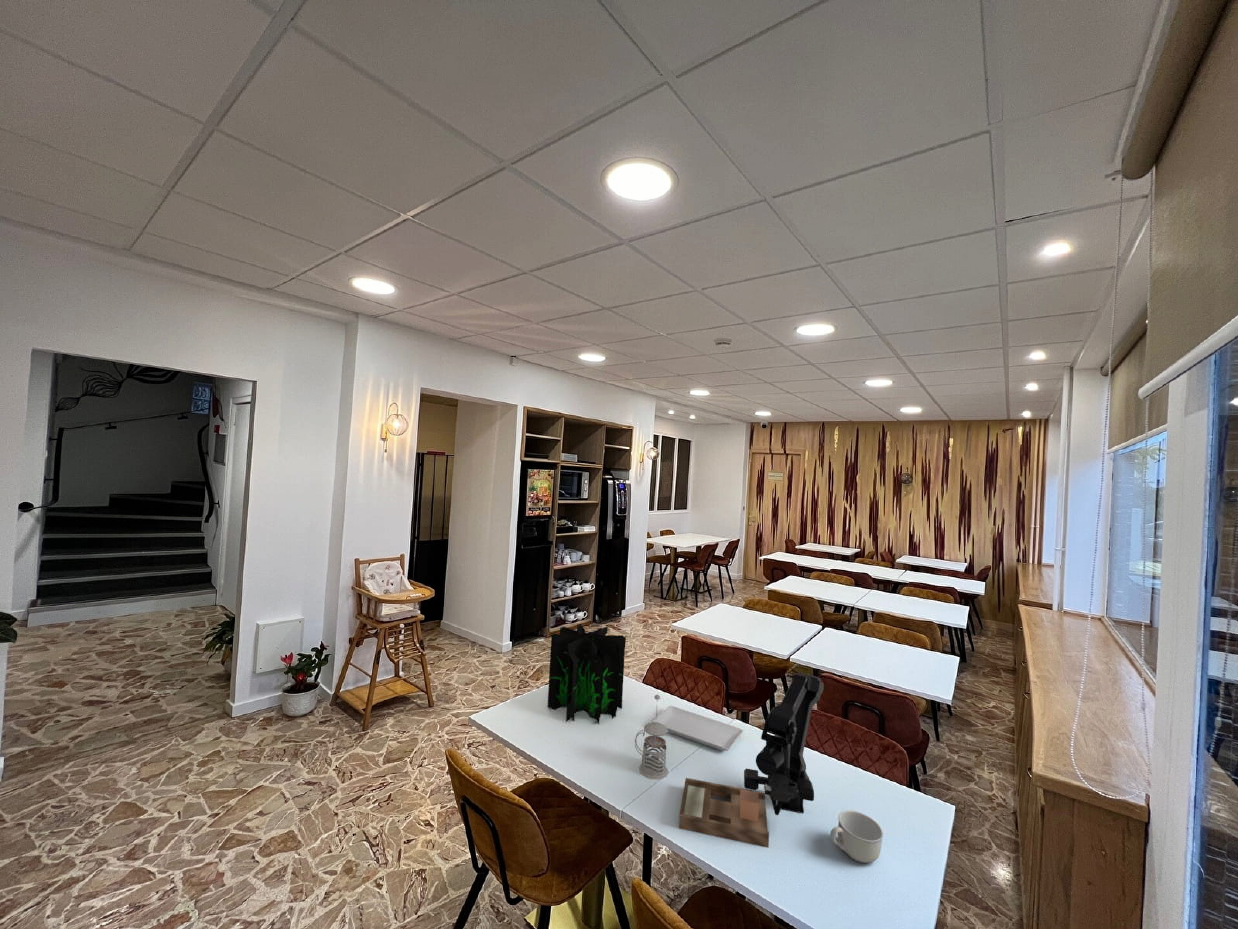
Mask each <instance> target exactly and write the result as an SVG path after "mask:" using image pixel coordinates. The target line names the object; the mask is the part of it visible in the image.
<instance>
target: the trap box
mask: <svg viewBox="0 0 1238 929" xmlns="http://www.w3.org/2000/svg"><path fill="white" fill-rule="evenodd" d="M684 781H685V782H684V787H683V792H682V798H681V805H680V809H679V810H680V811H679V822H678V829H681V830H685V831H690V832H695V833H698V832H699V833H700V834H703V835H708V836H713V837H718V838H722V839H725V840H726V839H728V840H731V841H735V842H740V843H746V844H750V845H755V846H759V847H763V848H769V846H770V845H769V843H770V842H769V841H770V831H769V828H768V819H767V818H768V817H767V808H766V806H767V805H766V794H765V792H762V791H757V790H750V789H746V788H741V787H735V786H731V785H727V784H726V785H725V784H721V783H716V782H710V781H705V780H699V779H695V778H694V779H693V778H691V777H690V778H689V777H685V780H684ZM740 789H741V790H746V791H751V792H756V793H758V798H759V812H758V822H757V821H752V820H747V819H742V818H740Z"/></svg>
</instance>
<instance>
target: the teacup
mask: <svg viewBox="0 0 1238 929" xmlns="http://www.w3.org/2000/svg"><path fill="white" fill-rule="evenodd" d="M883 831H884V830H882V827H881V825H880V824H879V823H877V822H876V820H874V819H873V818H872V817H870V816H869V815H867V814H864V813H862V812H860V811H856V810H850V809H849V810H843V811H841V812H840V813H839V814H838V826H834V827H833V828H832V829H831V830H830V839H831V841H832V842H833V843H834V844H835V845H836V846H838V847H839V848H840V850H842V851H844V852H845V853H846V854H847V855H848V856H849V857H850V858H851V859H853V860H854V861H856V862H859V863H862V864H863V863H865V864H869V863H872V862H875V861H877V860H878V859H879V857H880V856H881V850H882V843H883V837H884V832H883ZM836 836H837V839H838V840H837V839H836Z"/></svg>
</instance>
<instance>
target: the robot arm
mask: <svg viewBox="0 0 1238 929" xmlns="http://www.w3.org/2000/svg"><path fill="white" fill-rule="evenodd" d="M824 688H825V684H824V682H823V681H822V680H821V678H820V677H818V676H815V675H811V674H808V673H804V672H799V673H793V674H792V677H791V682H790V685H789V686H788V689H787V690H786V692H785V694H784V697H783V698H782V701H781V702H780V704H778V705H775V706H773V707H772V709H771V710H770V712H769V713H768V714H766V718H765V721H764V726H763V729H762V732H761V736H760V739H761V740H763V741H765V746H764V747H763V748H762V750H761V751H760V752H758V754H757V755H756V757H755V764H756V767H757V769H758V770H757V769H752V768H745V769H744V770H743V787H744V789H747V790H753V791H757V790H759V788H760V787H759V786H760V785H763V789H764V793H765V796H769V798H770V801H771V804H772V808H773V811H774V815H776V816H779V815H780V812H781V810H787V811H791V812H797V813H802V814H803V813H805V809H804V801H809V802H813V801H814V800H815V789H814V786H813V782H812V781H811V779H810V777H809V775H808V774H807V765H806V761H805V758H804V751H805V750H804V749H805V745H806V740H807V736H808V730H809V725H810V720H811V714H812V711H813V706H815V704H817V703H818V702H819V701H820V698H821V695H822V694H823V693H824ZM768 732H769V733H768ZM770 733H771V734H770ZM759 771H760V772H761V773H762V774H763V775H765V776H760V775H759Z"/></svg>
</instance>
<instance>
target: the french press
mask: <svg viewBox="0 0 1238 929" xmlns="http://www.w3.org/2000/svg"><path fill="white" fill-rule="evenodd" d="M660 699H661V696H660V695H659V694H655V695H654V700H656V701H658V700H660ZM655 708H656V709H655V710H656V712H655V718H656V720H657V716H658V714H657V713H658V706H656V707H655ZM645 733H646V734H648V736H646V737H645V735H646V734H645ZM641 734H642V737H645V738H644V742H643V746H642V747H643V748H642V750H641V749H640V748H639V746H638V743H637V738H638V736H640V735H641ZM667 734H668V728H667V727H666V726H664V725H663V724H661V723H659V722H652V721H651V722H649V723H646V724H645V725H644V726H643V729H641V730H639V731H638V732H637V734H636V735H635V739H634V748H635V751H636V752H638V754H639V755H641V765H640V766H639V767H638V771H639V773H640V774H641V775H642V776H643V777H644V778H646V779H648V780H654V781H655V780H656V781H657V780H663V779H664V778H666V777H668V775H669V769H668V768H667V767H666V762H667V745H666V744H667V741H666V740H665V738H664V737H663V736H665V735H667ZM641 752H642V753H641Z"/></svg>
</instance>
